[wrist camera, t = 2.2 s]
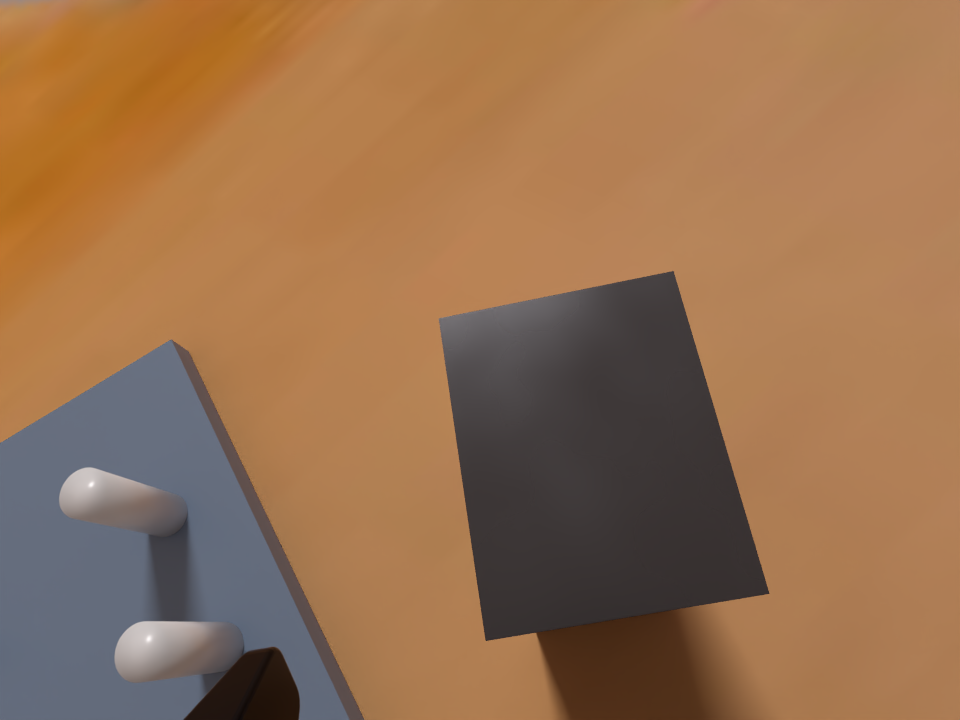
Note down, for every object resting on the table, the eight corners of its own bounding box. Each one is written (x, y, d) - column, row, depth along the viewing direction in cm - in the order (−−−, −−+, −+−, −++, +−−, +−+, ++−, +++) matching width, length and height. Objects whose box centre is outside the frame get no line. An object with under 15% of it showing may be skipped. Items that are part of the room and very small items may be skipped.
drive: (670, 609, 18) (769, 593, 8) (535, 632, 18) (485, 641, 9) (629, 441, 19) (673, 271, 10) (507, 463, 19) (438, 318, 10)
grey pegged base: (393, 782, 17) (333, 833, 13) (-6, 1056, 16) (-211, 1207, 12) (188, 351, 22) (97, 288, 18) (-122, 540, 21) (-292, 519, 17)
